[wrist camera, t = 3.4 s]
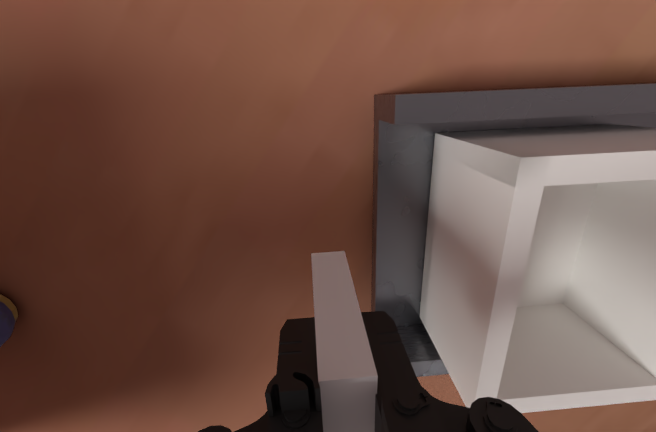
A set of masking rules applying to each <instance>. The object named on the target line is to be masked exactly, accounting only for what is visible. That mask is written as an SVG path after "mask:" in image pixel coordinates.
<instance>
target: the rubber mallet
mask: <svg viewBox="0 0 656 432" xmlns="http://www.w3.org/2000/svg"><path fill="white" fill-rule="evenodd" d="M17 318H18V313H17V308H16V307H15V305H14V304H13V303H12V302H11V301H10V300H9V299H8V298H6V297H4V296H3V295H1V294H0V347H1V346H2V345H3V344H4V343H5V342H6V341H7V340H8V339H9V337H10V336H11V334H12V332H13V329H14V325H15V322H16V320H17Z"/></svg>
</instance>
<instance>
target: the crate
mask: <svg viewBox="0 0 656 432" xmlns="http://www.w3.org/2000/svg"><path fill="white" fill-rule="evenodd" d="M420 319H421V321H422V323H423V325H424V327H425V328H426V330H427V332H428V334H429V336H430V338H431V340H432V342H433V344H434V346H435V348H436V350H437V352H438V354H439V356H440V357H441V359H442V361H443V363H444V365H445V367H446V369H447V371H448V373H449V375H450V377H451V379H452V381H453V383H454V384H455V386H456V388H457V390H458V392H459V394H460V396H461V398H462V400H463V402H464V404H465V406H466V407H468V408H470V407H471V404H472V403H473V402H474V401H475V400H477V399H478V398H483V397H492V398H497V399H500V400H502V401H504V402H506V403H508V404H510V405H512V406H513V407H514V408H515V409H516V410H518V411H519V412H520V413H527V412H537V411H547V410H557V409H568V408H578V407H588V406H599V405H609V404H619V403H630V402H640V401H650V400H656V128H651V127H640V126H629V125H618V124H607V125H587V126H567V127H547V128H526V129H506V130H486V131H466V132H445V133H435V139H434V151H433V163H432V175H431V187H430V198H429V210H428V222H427V234H426V246H425V258H424V269H423V281H422V293H421V305H420Z"/></svg>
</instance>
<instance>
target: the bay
mask: <svg viewBox="0 0 656 432" xmlns="http://www.w3.org/2000/svg"><path fill="white" fill-rule="evenodd" d="M607 124H618V125H629V126H640V127H651V128H656V83H642V84H619V85H595V86H572V87H548V88H525V89H502V90H478V91H455V92H431V93H408V94H385V95H374V161H373V230H372V300H371V312H374V311H385V312H386V313H387V314H388V315H389V316H390V317H391V318H392V319H393V320H394V322H395V325H396V327H397V330H398V333H399V335H400V337H401V340H402V343H403V345H404V347H405V350H406V352H407V355H408V357H409V360H410V362H411V365H412V367H413V370H414V372H415V375H416V377H420V376H431V375H442V374H449V373H448V371H447V369H446V367H445V365H444V363H443V361H442V359H441V357H440V356H439V354H438V352H437V350H436V348H435V346H434V344H433V342H432V340H431V338H430V336H429V334H428V332H427V330H426V328H425V327H424V325H423V323H422V321H421V319H420V305H421V293H422V281H423V269H424V258H425V246H426V234H427V222H428V210H429V198H430V187H431V175H432V163H433V151H434V139H435V133H445V132H466V131H486V130H506V129H526V128H547V127H567V126H587V125H607Z"/></svg>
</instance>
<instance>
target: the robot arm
mask: <svg viewBox="0 0 656 432" xmlns="http://www.w3.org/2000/svg"><path fill="white" fill-rule="evenodd" d="M311 259H312V277H313V296H314V314H315V317H313V318H301V319H289V320H287V321H286V322H285V324H284V326H283V327H282V329H281V330H280V341H279V352H278V353H279V355H278V363H277V374H276V376H274V378H273V379H272V380H271V381H270V382H269V384H268V386H267V389H266V392H265V397H266V403H267V410H268V411H267V412H266V413H265V415H263V416H262V417H261V418H260V419H259V420H257V421H256V422H254V423H252V424H250V425H248V426H246V427H244V428H241V429H239V430H237V431H234V432H538V431H537V430H536V429H535V428H534V426H533V425H532V424H531V423H530V422H529V421H528V420H527V419H526V418H525V417H524V416H523V415H522V414H521V413H520V412H519V411H518V410H516V409H515V408H514V407H513V406H512V405H510V404H508V403H506V402H504V401H502V400H500V399H497V398H492V397H483V398H478V399H477V400H475V401H474V402H473V403H472V404H471V407H470V408H468V407H463V406H458V405H454V404H449V403H446V402H443V401H440V400H438V399H436V398H434V397H432V396H431V395H430V394H429V393H428V392H427V391H426V390H425V389H424V388H423V387H422V386H421V385H420V383H419V381H418V380H417V377H416V375H415V372H414V370H413V367H412V365H411V362H410V360H409V357H408V355H407V352H406V350H405V347H404V345H403V343H402V340H401V337H400V335H399V333H398V330H397V327H396V325H395V322H394V320H393V319H392V318H391V317H390V316H389V315H388V314H387V313H386V312H385V311H374V312H362V313H361V311H360V307H359V303H358V299H357V296H356V292H355V288H354V284H353V281H352V277H351V273H350V269H349V266H348V262H347V258H346V254H345V251H337V252H323V253H311ZM198 432H232V431H231V430H230V429H229V428H226V427H224V426H221V425H220V426H209V427H207V428H205V429H202V430H200V431H198Z"/></svg>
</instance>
